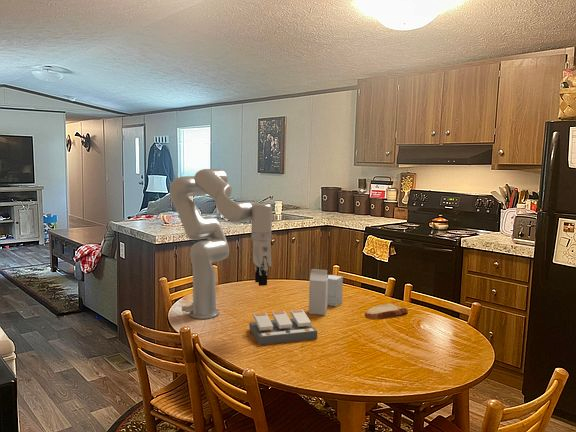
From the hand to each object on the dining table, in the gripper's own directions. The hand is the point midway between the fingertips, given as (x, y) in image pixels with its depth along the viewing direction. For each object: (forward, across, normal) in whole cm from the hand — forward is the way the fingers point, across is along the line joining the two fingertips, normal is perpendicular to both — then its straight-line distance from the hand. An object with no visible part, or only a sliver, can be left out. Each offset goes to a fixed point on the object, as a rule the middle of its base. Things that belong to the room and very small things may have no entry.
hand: (261, 283), depth 185 cm
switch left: (+14, -4, 0) cm, 14 cm away
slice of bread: (+20, +6, -58) cm, 62 cm away
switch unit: (+19, -4, -8) cm, 21 cm away
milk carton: (+20, +16, -30) cm, 40 cm away
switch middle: (+14, -4, -8) cm, 16 cm away
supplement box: (+20, +26, -42) cm, 53 cm away
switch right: (+14, -4, -15) cm, 21 cm away
